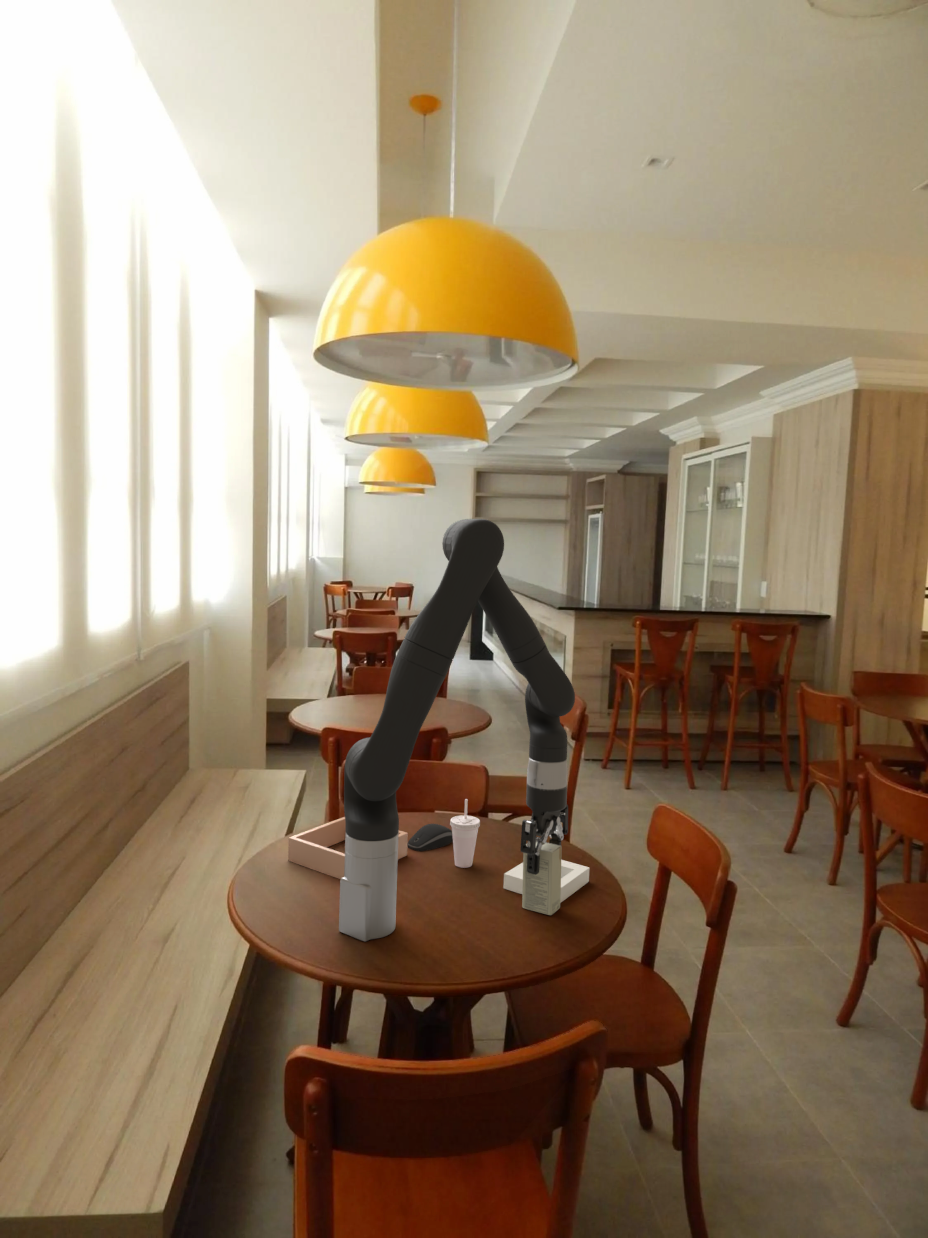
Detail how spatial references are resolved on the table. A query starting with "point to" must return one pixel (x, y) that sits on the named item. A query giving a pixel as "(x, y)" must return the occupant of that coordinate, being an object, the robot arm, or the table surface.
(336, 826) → the pink square tray
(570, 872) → the socket board
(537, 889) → the skincare box
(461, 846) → the smoothie
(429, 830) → the computer mouse
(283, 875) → the table surface
